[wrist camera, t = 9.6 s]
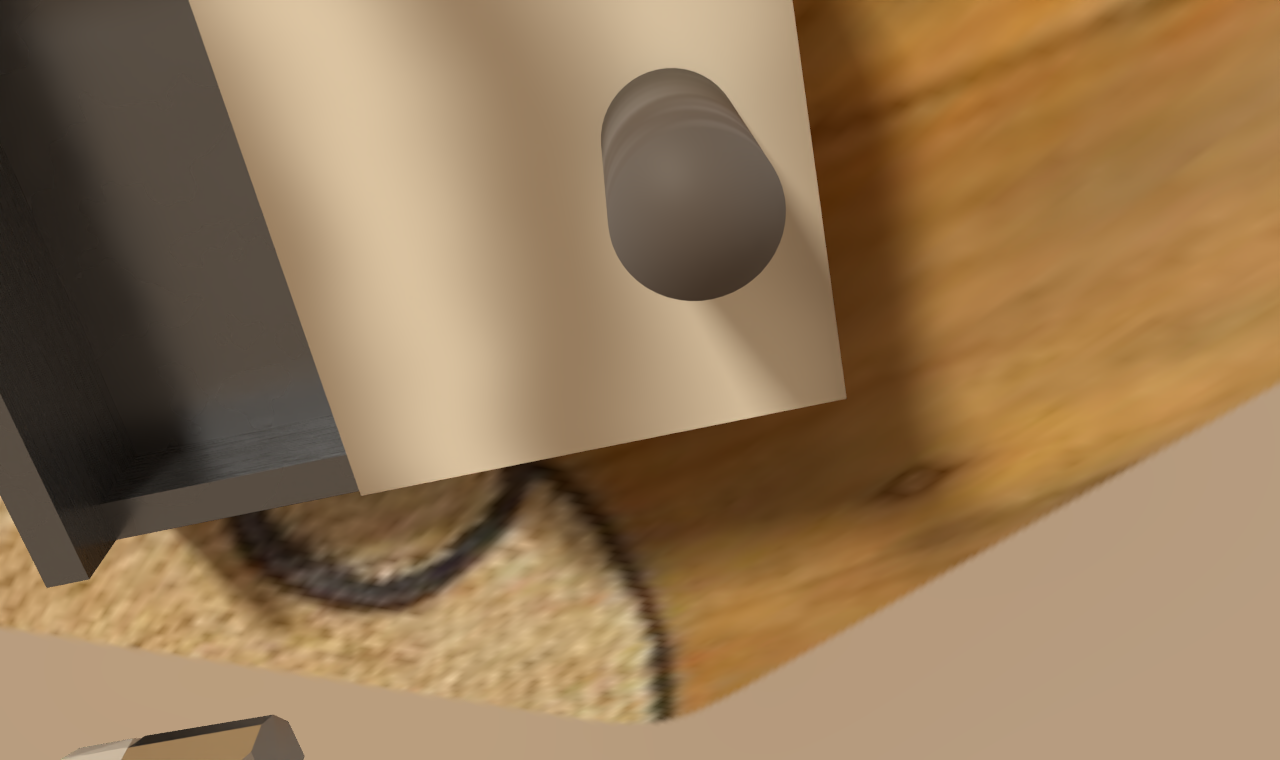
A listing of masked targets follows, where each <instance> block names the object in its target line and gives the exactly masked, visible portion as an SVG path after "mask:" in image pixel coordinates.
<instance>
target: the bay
mask: <svg viewBox="0 0 1280 760" xmlns="http://www.w3.org/2000/svg"><path fill="white" fill-rule="evenodd" d="M357 491H359V489H358V486H357V483H356V480H355V477H354V474H353V471H352V469H351V466H350V463H349V460H348V457H347V454H346V451H345V448H344V446H343V443H342V440H341V437H340V434H339V431H338V428H337V425H336V423H335V420H334V417H333V414H332V411H331V408H330V405H329V402H328V400H327V397H326V394H325V391H324V388H323V385H322V382H321V379H320V377H319V374H318V371H317V368H316V365H315V362H314V359H313V356H312V354H311V351H310V348H309V345H308V342H307V339H306V336H305V333H304V331H303V328H302V325H301V322H300V319H299V316H298V313H297V310H296V308H295V305H294V302H293V299H292V296H291V293H290V290H289V287H288V285H287V282H286V279H285V276H284V273H283V270H282V267H281V264H280V262H279V259H278V256H277V253H276V250H275V247H274V244H273V241H272V239H271V236H270V233H269V230H268V227H267V224H266V221H265V218H264V216H263V213H262V210H261V207H260V204H259V201H258V198H257V195H256V193H255V190H254V187H253V184H252V181H251V178H250V175H249V172H248V170H247V167H246V164H245V161H244V158H243V155H242V152H241V149H240V147H239V144H238V141H237V138H236V135H235V132H234V129H233V126H232V124H231V121H230V118H229V115H228V112H227V109H226V106H225V103H224V101H223V98H222V95H221V92H220V89H219V86H218V83H217V80H216V78H215V75H214V72H213V69H212V66H211V63H210V60H209V57H208V55H207V52H206V49H205V46H204V43H203V40H202V37H201V34H200V32H199V29H198V26H197V23H196V20H195V17H194V14H193V11H192V9H191V6H190V3H189V0H0V496H1V498H2V500H3V502H4V504H5V506H6V508H7V510H8V512H9V514H10V516H11V518H12V520H13V522H14V524H15V526H16V528H17V530H18V532H19V534H20V536H21V538H22V540H23V542H24V544H25V545H26V547H27V549H28V551H29V553H30V555H31V557H32V559H33V561H34V563H35V565H36V567H37V569H38V571H39V573H40V575H41V577H42V579H43V581H44V583H45V585H46V587H47V588H48V587H53V586H58V585H63V584H68V583H73V582H78V581H83V580H88V579H90V578H91V576H92V575H93V573H94V572H95V570H96V569H97V567H98V566H99V564H100V563H101V561H102V560H103V559H104V557H105V556H106V554H107V553H108V551H109V550H110V548H111V547H112V545H113V544H114V542H115V541H116V540H117V539H122V538H127V537H132V536H137V535H142V534H147V533H152V532H157V531H162V530H167V529H172V528H177V527H182V526H187V525H192V524H197V523H202V522H207V521H212V520H217V519H222V518H227V517H232V516H237V515H242V514H247V513H252V512H257V511H262V510H267V509H272V508H277V507H282V506H287V505H292V504H297V503H302V502H307V501H312V500H317V499H322V498H327V497H332V496H337V495H342V494H347V493H352V492H357Z"/></svg>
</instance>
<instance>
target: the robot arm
mask: <svg viewBox="0 0 1280 760" xmlns="http://www.w3.org/2000/svg"><path fill="white" fill-rule="evenodd" d="M303 759H304V754H303V752H302V750H301V747H300V745H299V743H298V741H297V739H296V737H295V735H294V733H293V731H292V728H291V726H290V724H289V722H288V721H286V720H284V719H282V718H279V717H277V716H275V715H269V716H263V717H257V718H251V719H245V720H239V721H232V722H226V723H220V724H215V725H209V726H202V727H196V728H190V729H184V730H178V731H172V732H166V733H160V734H154V735H148V736H144V737H143V738H138V739H136V738H134V739H128V740H122V741H117V742H111V743H106V744H101V745H95V746H89V747H83V748H79V749H77V750H76V751H74V752H72V753H71V754H69V755H67V756H65V757H64V758H62V759H61V760H303Z"/></svg>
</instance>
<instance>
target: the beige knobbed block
mask: <svg viewBox="0 0 1280 760" xmlns="http://www.w3.org/2000/svg"><path fill="white" fill-rule="evenodd" d="M189 3H190V6H191V9H192V11H193V14H194V17H195V20H196V23H197V26H198V29H199V32H200V34H201V37H202V40H203V43H204V46H205V49H206V52H207V55H208V57H209V60H210V63H211V66H212V69H213V72H214V75H215V78H216V80H217V83H218V86H219V89H220V92H221V95H222V98H223V101H224V103H225V106H226V109H227V112H228V115H229V118H230V121H231V124H232V126H233V129H234V132H235V135H236V138H237V141H238V144H239V147H240V149H241V152H242V155H243V158H244V161H245V164H246V167H247V170H248V172H249V175H250V178H251V181H252V184H253V187H254V190H255V193H256V195H257V198H258V201H259V204H260V207H261V210H262V213H263V216H264V218H265V221H266V224H267V227H268V230H269V233H270V236H271V239H272V241H273V244H274V247H275V250H276V253H277V256H278V259H279V262H280V264H281V267H282V270H283V273H284V276H285V279H286V282H287V285H288V287H289V290H290V293H291V296H292V299H293V302H294V305H295V308H296V310H297V313H298V316H299V319H300V322H301V325H302V328H303V331H304V333H305V336H306V339H307V342H308V345H309V348H310V351H311V354H312V356H313V359H314V362H315V365H316V368H317V371H318V374H319V377H320V379H321V382H322V385H323V388H324V391H325V394H326V397H327V400H328V402H329V405H330V408H331V411H332V414H333V417H334V420H335V423H336V425H337V428H338V431H339V434H340V437H341V440H342V443H343V446H344V448H345V451H346V454H347V457H348V460H349V463H350V466H351V469H352V471H353V474H354V477H355V480H356V483H357V486H358V489H359V492H360V494H361V496H363V495H368V494H373V493H378V492H383V491H388V490H393V489H398V488H403V487H408V486H413V485H418V484H423V483H428V482H433V481H438V480H443V479H448V478H453V477H458V476H463V475H468V474H473V473H478V472H483V471H488V470H493V469H498V468H503V467H508V466H513V465H518V464H523V463H528V462H533V461H538V460H543V459H548V458H553V457H558V456H563V455H568V454H573V453H578V452H583V451H588V450H593V449H598V448H603V447H608V446H613V445H618V444H623V443H628V442H633V441H638V440H643V439H648V438H653V437H658V436H663V435H668V434H673V433H678V432H683V431H688V430H693V429H698V428H703V427H708V426H713V425H718V424H723V423H728V422H733V421H738V420H743V419H748V418H753V417H758V416H762V415H767V414H772V413H777V412H782V411H787V410H792V409H797V408H802V407H807V406H812V405H817V404H822V403H827V402H832V401H837V400H842V399H847V397H846V390H845V382H844V375H843V368H842V360H841V353H840V346H839V338H838V331H837V324H836V316H835V309H834V302H833V294H832V287H831V280H830V272H829V265H828V258H827V250H826V243H825V236H824V228H823V221H822V213H821V206H820V199H819V191H818V184H817V177H816V169H815V162H814V155H813V147H812V140H811V133H810V125H809V118H808V111H807V103H806V96H805V89H804V81H803V74H802V67H801V59H800V52H799V44H798V37H797V30H796V22H795V15H794V8H793V0H189Z"/></svg>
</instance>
